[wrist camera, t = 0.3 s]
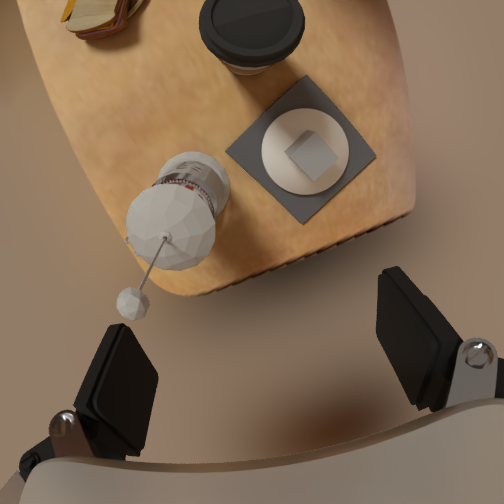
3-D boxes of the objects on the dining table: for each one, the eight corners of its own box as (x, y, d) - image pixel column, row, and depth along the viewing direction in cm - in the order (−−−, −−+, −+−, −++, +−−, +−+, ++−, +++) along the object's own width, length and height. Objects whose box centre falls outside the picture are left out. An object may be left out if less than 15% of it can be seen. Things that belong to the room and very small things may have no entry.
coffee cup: (291, 72, 30) (326, 47, 17) (226, 93, 31) (217, 78, 18) (267, 16, 26) (286, -37, 13) (202, 36, 27) (180, -8, 14)
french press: (244, 200, 38) (254, 338, 15) (173, 242, 40) (116, 391, 18) (203, 136, 33) (136, 186, 11) (132, 186, 36) (16, 294, 14)
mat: (305, 75, 30) (306, 74, 30) (374, 155, 35) (376, 155, 35) (225, 151, 34) (225, 151, 34) (301, 223, 39) (302, 224, 39)
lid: (306, 90, 31) (316, 88, 27) (362, 154, 35) (378, 161, 30) (242, 150, 34) (243, 156, 30) (303, 209, 38) (311, 222, 34)
